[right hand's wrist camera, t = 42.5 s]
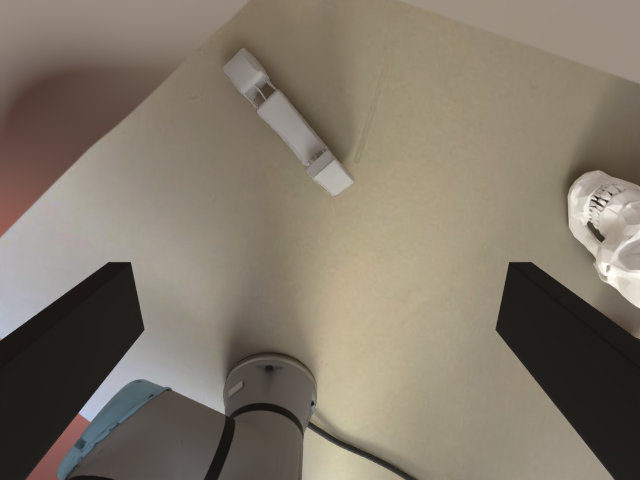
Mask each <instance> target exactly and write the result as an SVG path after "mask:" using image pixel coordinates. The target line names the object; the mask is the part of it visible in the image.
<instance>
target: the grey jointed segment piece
mask: <svg viewBox="0 0 640 480" xmlns="http://www.w3.org/2000/svg"><path fill="white" fill-rule="evenodd" d="M223 70H224V72H225V74H226V75H227V76H228V78H229V79H230V80H231V82H232V83H233V84H234V86H235V87H236V88H237V90H238V91H239V92H240V93H241V94H242V95H244V96H245V97H246V98H247V99H248V100H249V101H250V102H251V103H252V104H253V105H254V106H255V108H256V109H257V111H256V112H257V114H258V115H259V116H260V117H261V118H262V119H263V120H264V121H265V122H266V123H267V124H268V125H269V126H270V127H271V128H272V129H273V130H274V131H275V132H276V133H277V134H278V135H279V136H280V137H281V138H282V139H283V141H284V142H285V143H286V144H287V145H288V146H289V147H290V148H291V149H292V151H293V152H294V153H295V154H296V156H297V157H298V158H299V159H300V161H301V162H302V163H303V164H304V165H305V166H307V168H306V169H305V171H306V172H307V173H308V174H309V175H310V176H311V177H312V178H313V179H314V180H315V181H316V182H318V183H319V184H320V185H321V186H322V187H323V188H325V189H326V190H327V191H328V192H329V193H330V194H331V195H332V196H336V195H338V194H339V193H340V192H342V191H343V190H344V189H346V188H347V187H348V186H350V185H351V184H352V183H353V182H354V178H353V176H352V175H351V174H350V173H349V172H348V171H347V170H346V169H345V167H344V166H343V165H342V164H341V163H340V162H339V161H338V160H337V159H336V157H335V156H334V155H333V154H332V153H331V151H330V150H329V148H328V147H327V146H326V145H325V144H324V143H323V141H322V140H321V139H320V138H319V137H318V135H317V134H316V133H315V132H314V130H313V129H312V128H311V127H310V126H309V124H308V123H307V122H306V121H305V120H304V118H303V117H302V116H301V115H300V113H299V112H298V111H297V110H296V109H295V107H294V106H293V105H292V104H291V103H290V101H289V100H288V99H287V98H286V96H285V95H284V94H283V93H282V92H281V91H280V90H279V89H276V88H275V87H274V86H273V85H272V83H271V82H270V81H269V80H270V79H269V77H268V75H267V73H266V71H265V69H264V68H263V67H262V66H261V64H260V63H259V62H258V61H257V59H256V58H255V57H254V56H253V55H251V54H250V53H249V52H248V51H247V50H246V49H245V48H242V49H241V50H240V51H239V52H238V53H237V54H236V55H235V56H234V57H233V58H232V59H231V60H230V61H229V62H228V63H227V64H226V65H225V66H224V67H223ZM266 83H268V85H269V86H271V87H272V88H273V89H274V90H275V91H274V92H273V93H272V94H271V95H270V96H269V97H268V98H266V97H265V96H264V95H263V93H262V92H261V91H260V89H261V88H262V87H263V86H264V85H265V84H266ZM258 92H259V93H260V94H261V95H262V96H263V98H264V100H265V101H264V102H263V103H262V104H261V105H260V106H258V105H257V103H256V102H255V101H254V99H255V97H256V96H257V94H258ZM252 101H253V102H254V103H255V104H254V103H253V102H252Z"/></svg>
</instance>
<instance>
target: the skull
mask: <svg viewBox="0 0 640 480" xmlns="http://www.w3.org/2000/svg"><path fill="white" fill-rule="evenodd" d="M605 187H606V188H605ZM602 190H605V191H602ZM607 191H608V192H610V193H612V194H613V195H612V196H610V194H609V193H608V192H607ZM597 192H598V193H597ZM599 193H600V194H601V195H600V194H599ZM594 195H595V196H597V197H599V198H600V197H601V198H602V199H605V200H608V201H609V202H608V203H606V202H605V201H603V200H602V199H599V200H598V202H599V203H601V204H602V205H603V206H604V207H601V206H599V205H596V203H595V202H593V201H592V199H593V200H597V199H596V198H595V197H594ZM593 206H596V207H597V208H595V207H593ZM591 210H592V211H591ZM599 214H600V215H599ZM568 216H569V228H570V230H571V232H572V233H573V235H574V237H575V238H577V239H578V240H579V241H580V242H581V243H582V244H583V245H584V246H585V247H586V248H587V249H588V250H589V251H590V252H591V253H592V254H593V255H594V256H595V258H596V261H595V262H594V263H593V264H594V266H595V268H596V269H597V271H598V273H599V277H600V279H601V280H602V281H605V282H607V283H609V284H610V285H612V286H613V287H615V288H616V289H617V290H618V291H619V292H620V293H621V294H622V295H623V296H624V297H625V298H626V299H627V300H628V301H629V302H631V303H632V304H634V305H635V306H637V307H639V308H640V186H638V185H636V184H633V183H630V182H627V181H624V180H622V179H619V178H615V177H611V176H609V175H607V174H606V173H604V172H602V171H599V170H597V171H592V172H587V173H585V174H583V175H582V176H581V177H579V178H578V179H576V180H575V182H574V183H573V185H572V186H571V187H570V190H569V193H568ZM588 221H590V222H591V223H593V226H594V227H595V228H596V229H598V230H599V232H600V234H601V235H602V236H604V238H605V240H604V241H603V242H602V243H601V242H600V241H599V240H598V239H597V238H596V237H595V235H594V234H593V233H592V231H591V230H590V229H589V227H588V226H587V222H588Z"/></svg>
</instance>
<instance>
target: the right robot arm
mask: <svg viewBox="0 0 640 480" xmlns="http://www.w3.org/2000/svg"><path fill="white" fill-rule="evenodd" d="M143 331H144V325H143V320H142V315H141V310H140V305H139V300H138V296H137V291H136V286H135V281H134V276H133V271H132V266H131V262H108V263H107V264H106V265H104V266H103V267H101V268H100V269H99V270H97V271H96V272H94V273H93V274H92V275H90V276H89V277H88V278H86V279H85V280H83V281H82V282H81V283H79V284H78V285H77V286H75V287H74V288H72V289H71V290H70V291H68V292H67V293H66V294H64V295H63V296H61V297H60V298H59V299H57V300H56V301H54V302H53V303H52V304H50V305H49V306H48V307H46V308H45V309H43V310H42V311H41V312H39V313H38V314H37V315H35V316H34V317H32V318H31V319H30V320H28V321H27V322H26V323H24V324H23V325H21V326H20V327H19V328H17V329H16V330H14V331H13V332H12V333H10V334H9V335H8V336H6V337H5V338H3V339H2V340H1V341H0V480H25V479H26V478H27V477H28V476H29V474H30V473H31V472H32V471H33V469H34V468H35V467H36V466H37V464H38V463H39V462H40V460H41V459H42V458H43V457H44V455H45V454H46V453H47V452H48V450H49V449H50V448H51V447H52V445H53V444H54V443H55V442H56V440H57V439H58V438H59V437H60V435H61V434H62V433H63V432H64V430H65V429H66V428H67V427H68V425H69V424H70V423H71V421H72V420H73V419H74V418H75V416H76V415H77V414H78V413H79V411H80V410H81V409H82V408H83V406H84V405H85V404H86V403H87V401H88V400H89V399H90V398H91V396H92V395H93V394H94V393H95V391H96V390H97V389H98V388H99V386H100V385H101V384H102V383H103V381H104V380H105V379H106V377H107V376H108V375H109V374H110V372H111V371H112V370H113V369H114V367H115V366H116V365H117V364H118V362H119V361H120V360H121V359H122V357H123V356H124V355H125V354H126V352H127V351H128V350H129V349H130V347H131V346H132V345H133V344H134V342H135V341H136V340H137V339H138V337H139V336H140V335H141V333H142V332H143ZM496 331H497V332H498V333H499V335H500V336H501V337H502V339H503V340H504V341H505V342H506V344H507V345H508V346H509V347H510V349H511V350H512V351H513V352H514V354H515V355H516V356H517V357H518V359H519V360H520V361H521V362H522V364H523V365H524V366H525V367H526V369H527V370H528V371H529V372H530V374H531V375H532V376H533V377H534V379H535V380H536V381H537V383H538V384H539V385H540V386H541V388H542V389H543V390H544V391H545V393H546V394H547V395H548V396H549V398H550V399H551V400H552V401H553V403H554V404H555V405H556V406H557V408H558V409H559V410H560V411H561V413H562V414H563V415H564V416H565V418H566V419H567V420H568V422H569V423H570V424H571V425H572V427H573V428H574V429H575V430H576V432H577V433H578V434H579V435H580V437H581V438H582V439H583V440H584V442H585V443H586V444H587V445H588V447H589V448H590V449H591V450H592V452H593V453H594V454H595V455H596V457H597V458H598V459H599V460H600V462H601V463H602V464H603V466H604V467H605V468H606V469H607V471H608V472H609V473H610V474H611V476H612V477H613V478H614V479H615V480H640V339H638V338H635V337H634V336H632V335H631V334H630V333H628V332H627V331H626V330H624V329H623V328H621V327H620V326H619V325H617V324H616V323H614V322H613V321H612V320H610V319H609V318H608V317H606V316H605V315H603V314H602V313H601V312H599V311H598V310H597V309H595V308H594V307H592V306H591V305H590V304H588V303H587V302H586V301H584V300H583V299H581V298H580V297H579V296H577V295H576V294H574V293H573V292H572V291H570V290H569V289H568V288H566V287H565V286H563V285H562V284H561V283H559V282H558V281H557V280H555V279H554V278H552V277H551V276H550V275H548V274H547V273H546V272H544V271H543V270H541V269H540V268H539V267H537V266H536V265H534V264H533V263H532V262H509V266H508V271H507V276H506V281H505V286H504V291H503V296H502V300H501V305H500V310H499V315H498V320H497V325H496ZM223 399H224V406H225V415H224V414H222V413H220V412H218V411H216V410H214V409H211V408H209V407H207V406H205V405H203V404H201V403H198V402H196V401H194V400H192V399H190V398H188V397H185V396H183V395H181V394H179V393H177V392H175V391H172V389H171V388H169V387H162V386H159V385H157V384H154V383H152V382H149V381H147V380H142V379H141V380H135V381H132V382H130V383H129V384H127V385H125V386H124V387H123V388H122V389H121V390H120V391H119V392H117V393H116V394H115V396H114V397H113V398H112V399H111V400H110V401H109V402H108V403H107V404H106V405H105V406H104V407H103V409H102V410H101V411H100V412H99V413H98V414H97V416H96V417H95V418H94V419H93V420H92V422H91V423H90V424H89V425H88V427H87V428H86V429H85V430H84V432H83V433H82V434H81V437H80V439H78V440H77V442H76V443H75V444H74V446H73V447H72V448H71V449H70V450H69V452H68V453H67V454H66V456H65V458H64V459H63V461H62V462H61V464H60V466H59V468H58V470H57V477H58V478H59V479H60V480H302V462H303V437H304V432H305V430H306V427H308V428H310V429H311V430H313V431H314V432H316V433H318V434H319V435H321V436H322V437H324V438H325V439H327V440H329V441H330V442H332V443H334V444H336V445H337V446H339V447H342V448H344V449H346V450H348V451H350V452H353V453H355V454H358V455H360V456H362V457H365V458H367V459H369V460H371V461H373V462H375V463H377V464H379V465H381V466H383V467H385V468H387V469H389V470H390V471H392V472H394V473H396V474H397V475H399V476H401V477H402V478H404V479H405V480H415V479H413V478H412V477H410V476H409V475H407V474H406V473H404V472H403V471H401V470H400V469H398V468H396V467H394V466H393V465H391V464H389V463H387V462H385V461H383V460H381V459H379V458H377V457H376V456H374V455H371V454H369V453H367V452H365V451H363V450H360V449H358V448H356V447H353V446H351V445H349V444H346V443H344V442H342V441H340V440H338V439H336V438H335V437H333V436H331V435H330V434H328V433H327V432H325V431H324V430H322V429H321V428H319V427H317V426H316V425H314V424H313V423H311V422H310V418H311V416H312V414H313V412H314V409H315V405H316V400H317V387H316V382H315V380H314V377H313V375H312V374H311V372H310V371H309V370H308V369H307V368H306V367H305V366H304V365H303V364H302V363H300V362H299V361H297V360H296V359H294V358H291V357H289V356H286V355H282V354H277V353H261V354H256V355H253V356H250V357H247V358H245V359H243V360H242V361H240V362H239V363H238V364H237V365H235V366H234V368H233V369H232V370H231V371H230V373H229V375H228V378H227V380H226V383H225V387H224V394H223Z"/></svg>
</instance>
